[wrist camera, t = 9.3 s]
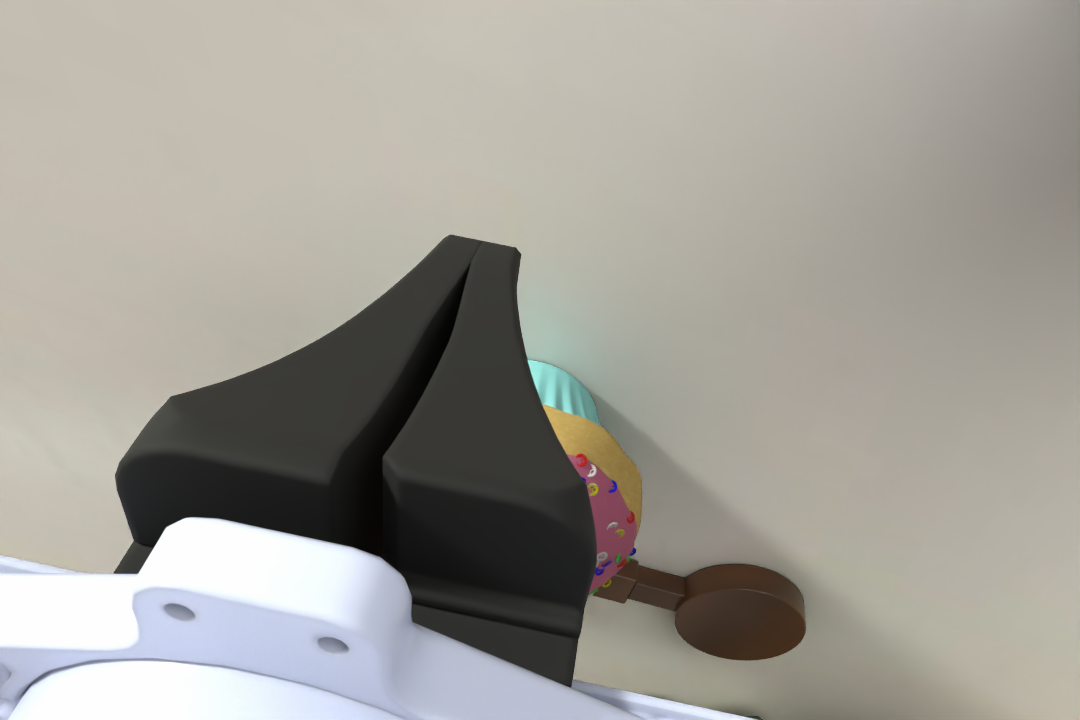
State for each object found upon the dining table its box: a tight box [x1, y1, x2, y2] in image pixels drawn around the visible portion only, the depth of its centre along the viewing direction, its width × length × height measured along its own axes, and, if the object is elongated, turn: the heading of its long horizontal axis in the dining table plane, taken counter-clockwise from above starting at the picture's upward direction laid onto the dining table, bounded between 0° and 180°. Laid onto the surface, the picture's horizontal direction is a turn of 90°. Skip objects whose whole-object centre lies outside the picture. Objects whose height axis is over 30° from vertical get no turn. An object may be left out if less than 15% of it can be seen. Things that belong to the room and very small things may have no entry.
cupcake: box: [528, 360, 642, 598], centre depth 25 cm, size 9×8×12 cm
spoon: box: [593, 559, 806, 660], centre depth 35 cm, size 22×5×1 cm, turn 77°
